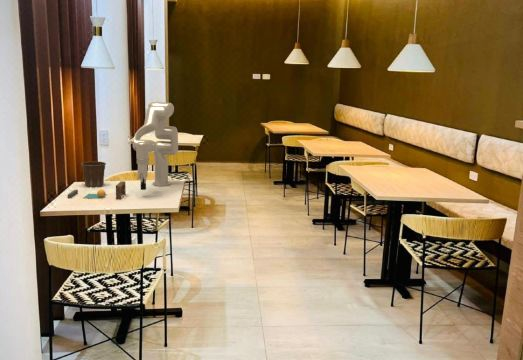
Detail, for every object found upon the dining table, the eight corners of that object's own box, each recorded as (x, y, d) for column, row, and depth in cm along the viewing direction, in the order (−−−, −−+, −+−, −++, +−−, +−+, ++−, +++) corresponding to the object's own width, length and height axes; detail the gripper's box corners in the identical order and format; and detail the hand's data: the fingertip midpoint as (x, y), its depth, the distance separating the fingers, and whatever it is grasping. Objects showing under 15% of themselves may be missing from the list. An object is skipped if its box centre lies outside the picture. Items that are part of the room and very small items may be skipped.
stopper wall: (74, 193, 318) (74, 189, 318) (78, 193, 319) (77, 189, 318) (67, 198, 305) (67, 194, 304) (71, 198, 305) (70, 194, 304)
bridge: (115, 199, 307) (115, 185, 305) (120, 194, 320) (120, 181, 319) (120, 199, 307) (120, 185, 305) (125, 194, 321) (125, 181, 319)
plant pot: (105, 188, 336) (104, 165, 333) (80, 188, 333) (79, 165, 330) (107, 183, 352) (107, 161, 349) (83, 183, 349) (83, 161, 345)
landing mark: (88, 194, 318) (88, 193, 318) (107, 194, 319) (107, 194, 319) (83, 198, 306) (83, 197, 306) (102, 198, 307) (102, 198, 307)
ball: (97, 189, 312) (105, 188, 313) (98, 197, 313) (106, 196, 313) (95, 190, 307) (103, 189, 308) (96, 198, 308) (105, 197, 308)
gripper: (138, 159, 317) (139, 186, 321) (134, 163, 303) (135, 192, 307) (150, 159, 318) (151, 186, 322) (146, 163, 303) (147, 192, 307)
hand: (143, 189), depth 314 cm, fingers closed
